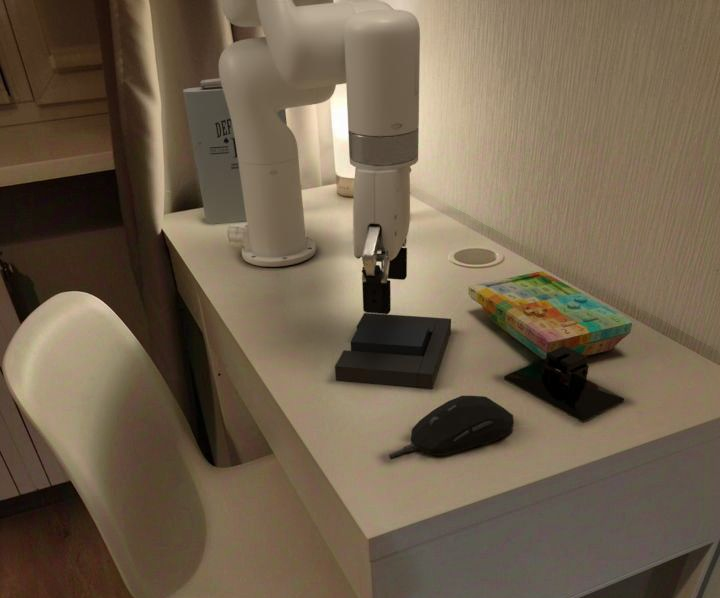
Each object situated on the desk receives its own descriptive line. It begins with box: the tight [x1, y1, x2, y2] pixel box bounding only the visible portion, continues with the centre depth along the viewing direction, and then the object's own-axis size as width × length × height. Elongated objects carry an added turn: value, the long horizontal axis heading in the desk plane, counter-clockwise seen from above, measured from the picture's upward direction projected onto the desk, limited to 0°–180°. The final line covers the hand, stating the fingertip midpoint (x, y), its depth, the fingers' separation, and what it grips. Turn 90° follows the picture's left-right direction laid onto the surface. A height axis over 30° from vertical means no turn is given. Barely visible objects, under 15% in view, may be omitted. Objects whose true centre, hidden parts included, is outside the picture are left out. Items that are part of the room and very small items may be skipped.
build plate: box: [503, 346, 625, 423], centre depth 84 cm, size 12×7×5 cm, turn 35°
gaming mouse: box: [388, 395, 515, 459], centre depth 77 cm, size 6×15×4 cm, turn 116°
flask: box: [182, 77, 288, 225], centre depth 132 cm, size 17×5×25 cm, turn 103°
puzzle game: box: [468, 270, 633, 360], centre depth 95 cm, size 12×5×20 cm
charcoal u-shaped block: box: [334, 312, 452, 389], centre depth 93 cm, size 15×12×2 cm
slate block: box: [350, 322, 429, 357], centre depth 93 cm, size 6×9×3 cm, turn 76°
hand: (385, 294), depth 89 cm, fingers open, 9 cm apart
